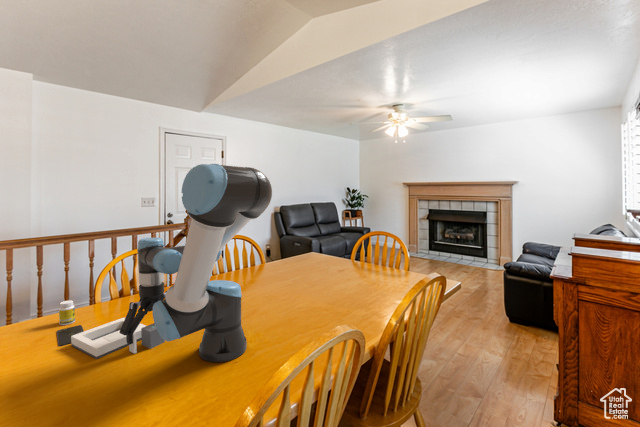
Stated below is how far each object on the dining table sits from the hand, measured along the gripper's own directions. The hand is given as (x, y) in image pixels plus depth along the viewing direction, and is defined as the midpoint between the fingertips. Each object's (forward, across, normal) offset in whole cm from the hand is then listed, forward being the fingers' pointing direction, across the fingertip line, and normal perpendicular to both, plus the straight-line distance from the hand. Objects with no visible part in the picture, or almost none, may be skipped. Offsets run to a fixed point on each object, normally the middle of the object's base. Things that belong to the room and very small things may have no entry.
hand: (153, 342), depth 102 cm
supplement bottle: (+1, +7, -44) cm, 44 cm away
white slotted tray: (0, +6, -14) cm, 15 cm away
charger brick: (0, 0, 0) cm, 0 cm away
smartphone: (+1, +11, -31) cm, 33 cm away
